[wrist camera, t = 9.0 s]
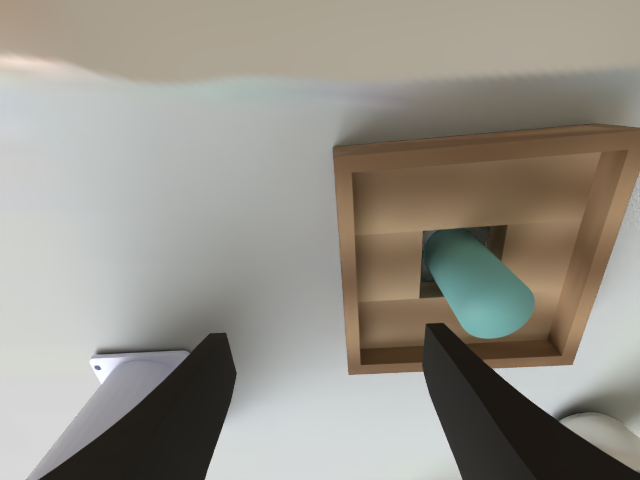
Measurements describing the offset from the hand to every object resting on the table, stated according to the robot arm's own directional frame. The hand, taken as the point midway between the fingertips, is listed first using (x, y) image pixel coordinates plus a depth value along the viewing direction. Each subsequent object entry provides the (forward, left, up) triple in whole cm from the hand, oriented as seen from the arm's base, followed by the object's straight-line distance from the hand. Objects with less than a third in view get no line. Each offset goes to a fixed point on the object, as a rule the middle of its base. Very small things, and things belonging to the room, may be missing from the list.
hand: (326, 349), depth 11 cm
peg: (-1, -8, -9) cm, 12 cm away
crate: (-1, -8, -9) cm, 12 cm away
